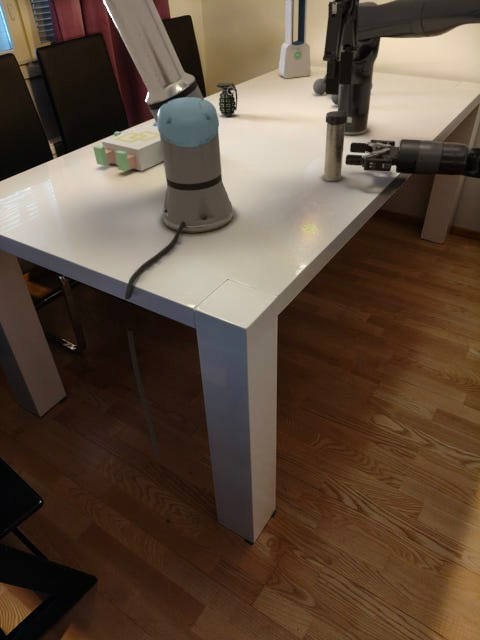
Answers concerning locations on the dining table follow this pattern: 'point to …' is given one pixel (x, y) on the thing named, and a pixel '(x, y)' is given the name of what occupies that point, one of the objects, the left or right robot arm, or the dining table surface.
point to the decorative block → (132, 149)
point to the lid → (336, 117)
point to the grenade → (227, 99)
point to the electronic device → (295, 44)
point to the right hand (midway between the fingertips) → (348, 153)
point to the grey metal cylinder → (334, 152)
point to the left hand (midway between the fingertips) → (338, 88)
